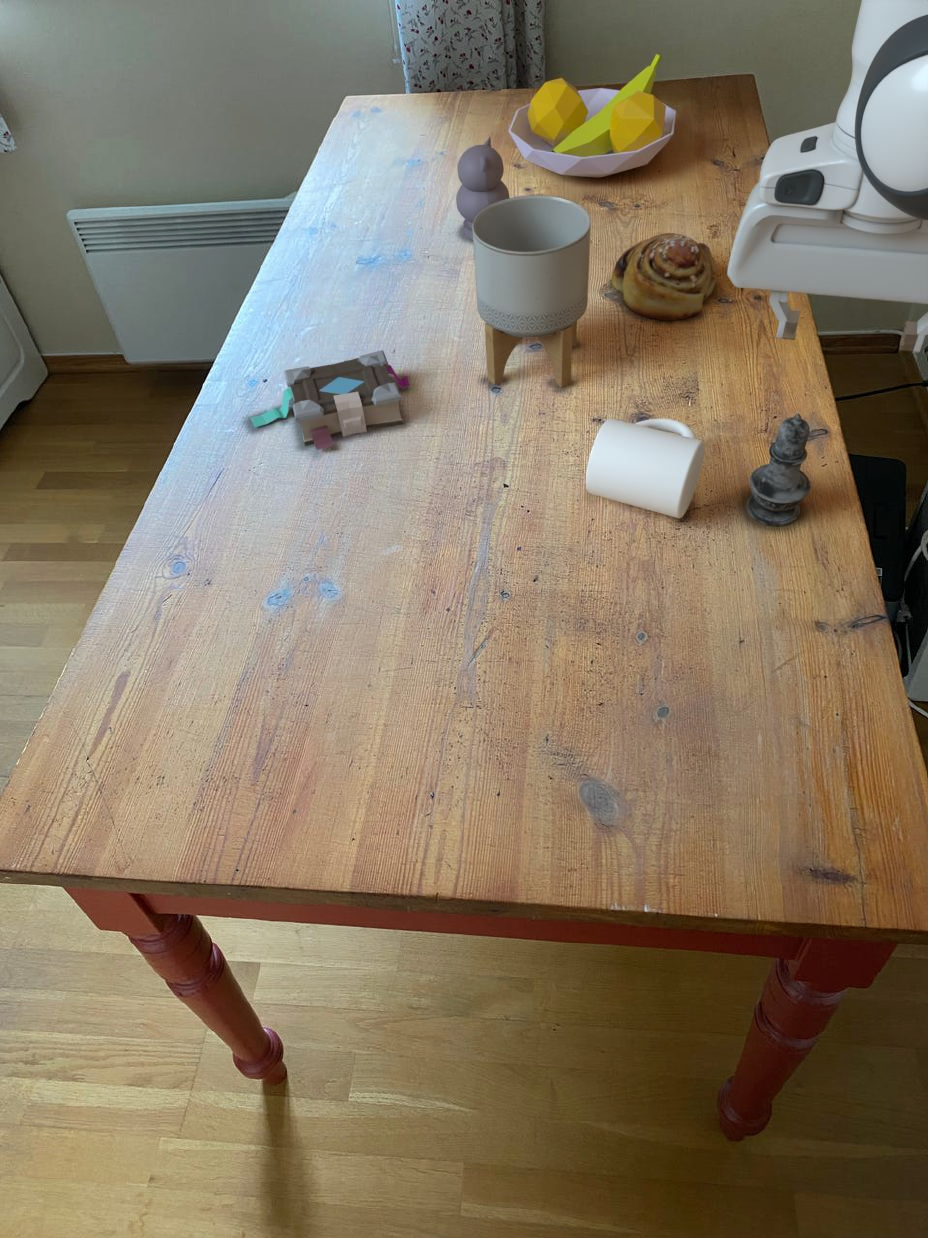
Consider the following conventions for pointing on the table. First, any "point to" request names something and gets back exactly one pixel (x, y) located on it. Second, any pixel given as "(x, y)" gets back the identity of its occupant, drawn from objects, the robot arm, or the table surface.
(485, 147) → the grey bird figurine
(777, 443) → the chess piece
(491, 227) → the planter
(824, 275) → the robot arm
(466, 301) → the table surface
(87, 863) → the table surface
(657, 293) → the pastry
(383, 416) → the book
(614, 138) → the fruit bowl
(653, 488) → the mug
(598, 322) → the table surface
